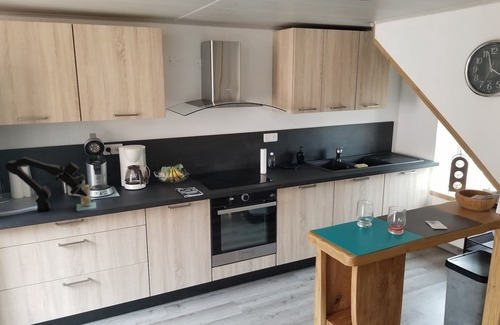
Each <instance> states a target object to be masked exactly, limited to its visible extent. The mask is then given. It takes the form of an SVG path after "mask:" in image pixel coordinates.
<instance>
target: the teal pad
mask: <svg viewBox="0 0 500 325" xmlns="http://www.w3.org/2000/svg"><path fill="white" fill-rule="evenodd" d="M96 209H97V203H96V201H95V202H91V204H90V205H88V206H81V203H77V204H76V212H80V211H87V210H88V211H89V210H96Z"/></svg>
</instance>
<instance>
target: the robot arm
mask: <svg viewBox="0 0 500 325" xmlns="http://www.w3.org/2000/svg"><path fill="white" fill-rule="evenodd" d="M23 165H27V166H30V167H34V168H36V169H39V170H43V171H45V172H46V173H48V174H50V175H51V176H55V181H59V180H60V181H61V182H63V183H64V184H65V186H67V185H68V186H69V187H71V189H72V190H71V191H70V193H71V194H72V195H71V196H74V195H73V194H74V193H75V194H78V195H82V196H87V194H86V193H85V192H84V191H83V190H82V186H81V185H84V183H83V182H84V181H83V180H86V176H85V174H83V173H78V175H77V176H76V177H75V176H74V174H75V173H76V172H77V171H78V170H79V169H80V167H79V166H78V165H77V164H75V163H73V162H71V161H70V162H69V163H68V164H67V165H66V166H60V165H58V164H53V163H46V162H43V161H39V160H36V159H33V158H30V157H28V156H23V157H22V158H19V159H16V160H10V161H8V162H7V163H5V165H4V169H5V170H6V171H7V172H9V173H11V174H13V175H15V176H17V177H18V178H20V180H22V182H24V183H25V184H26V185H27V186H29V187H30V188H31V189H32V190H33V191H34V192H35V194H36V196H37V198H36V199H35V203H36V207H37V211H36V213H42V212H49V211H50V209H51V208H50V207H51V206H50V202H49V200H48V199H49V198H50V197H51V194H52V192H51V189H50V188H48V186H46V185H44V186H43V185H41V184H39V183H38V182H37V181H36V180H34V179H33V178H32V177H31V176H30V175H29V174H27V172H26V171H24V169H23V168H22V166H23ZM82 183H83V184H82ZM80 186H81V187H80Z"/></svg>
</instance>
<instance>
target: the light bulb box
mask: <svg viewBox="0 0 500 325" xmlns="http://www.w3.org/2000/svg"><path fill="white" fill-rule="evenodd" d="M85 180H86V179H85ZM85 180H83V181H84V182H83V183H84V185H86V182H85ZM83 183H82V184H83ZM71 190H72V189H71V187H69V186H68V185H67V194H68V196H75V197H76V196H77V197H81V195H78V194H75V193H74V194H73V195H72V194H71V193H70V191H71Z"/></svg>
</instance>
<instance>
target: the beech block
mask: <svg viewBox="0 0 500 325" xmlns="http://www.w3.org/2000/svg"><path fill="white" fill-rule="evenodd" d="M81 186H82V190H83V191H84V192H85V193H86V194H87V196H82V195H81V196H80V204H81V206H88V205H90V204H91V203H92V202H91V193H90V192H91V190H90V188H91V187H90V184H85V185H81ZM81 186H80V187H81Z"/></svg>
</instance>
